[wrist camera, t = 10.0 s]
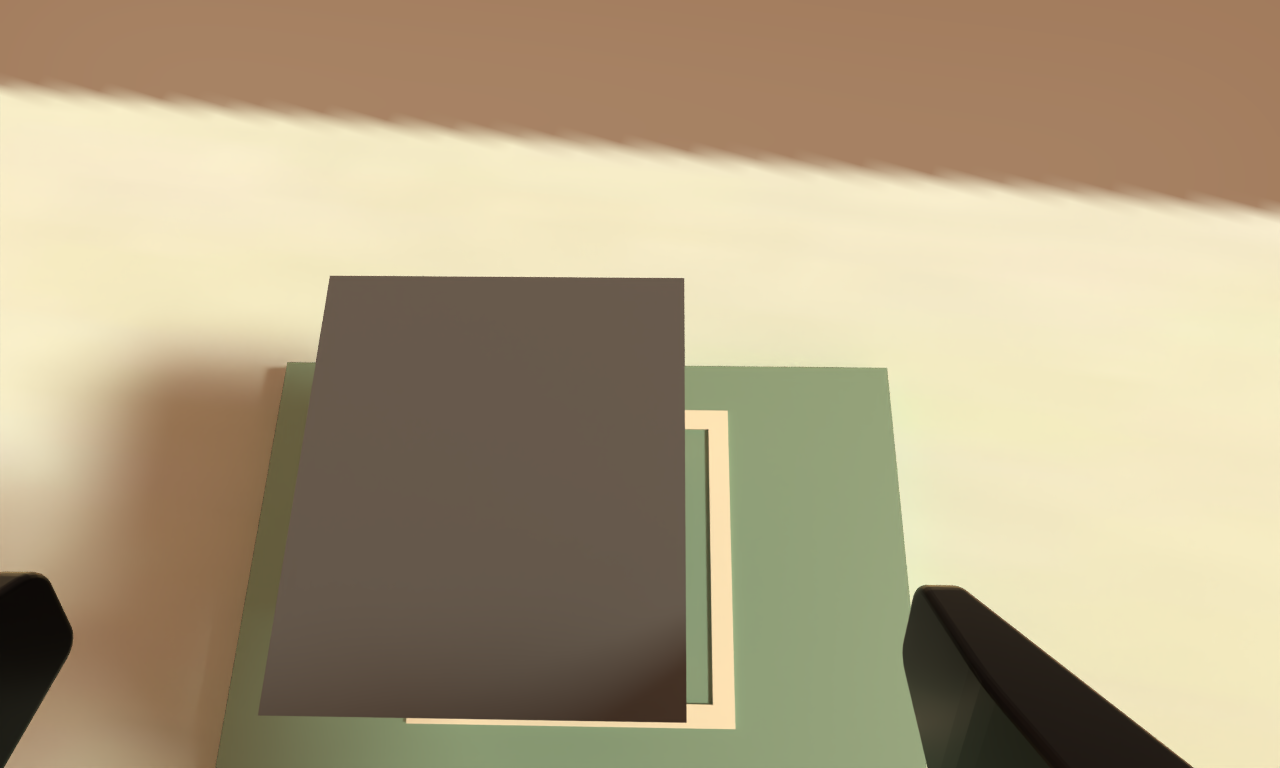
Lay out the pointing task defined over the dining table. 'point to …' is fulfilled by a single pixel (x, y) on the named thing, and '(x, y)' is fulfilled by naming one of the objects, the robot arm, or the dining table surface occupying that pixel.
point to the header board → (715, 601)
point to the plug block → (489, 505)
